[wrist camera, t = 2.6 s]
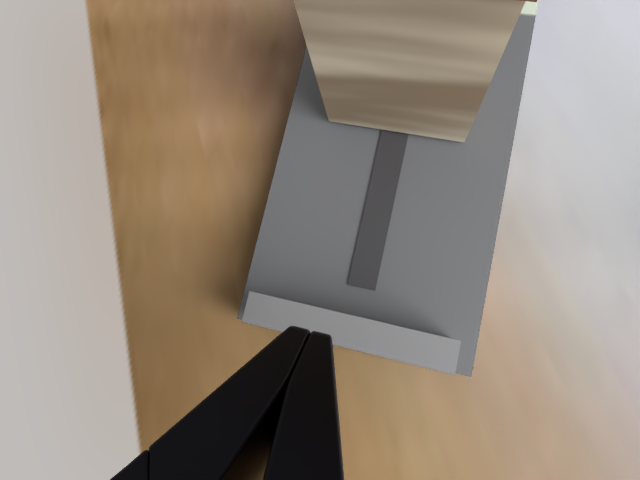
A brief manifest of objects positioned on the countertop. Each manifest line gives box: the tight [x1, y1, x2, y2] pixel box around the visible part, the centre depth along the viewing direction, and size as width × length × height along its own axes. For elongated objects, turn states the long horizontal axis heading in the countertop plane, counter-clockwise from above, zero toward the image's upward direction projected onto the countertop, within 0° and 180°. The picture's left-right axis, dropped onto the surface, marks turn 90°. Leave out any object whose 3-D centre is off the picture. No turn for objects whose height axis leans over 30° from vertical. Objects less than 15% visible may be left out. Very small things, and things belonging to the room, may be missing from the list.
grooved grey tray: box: [237, 0, 539, 377], centre depth 20 cm, size 22×10×4 cm, turn 167°
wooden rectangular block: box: [293, 0, 537, 142], centre depth 15 cm, size 3×6×10 cm, turn 77°
